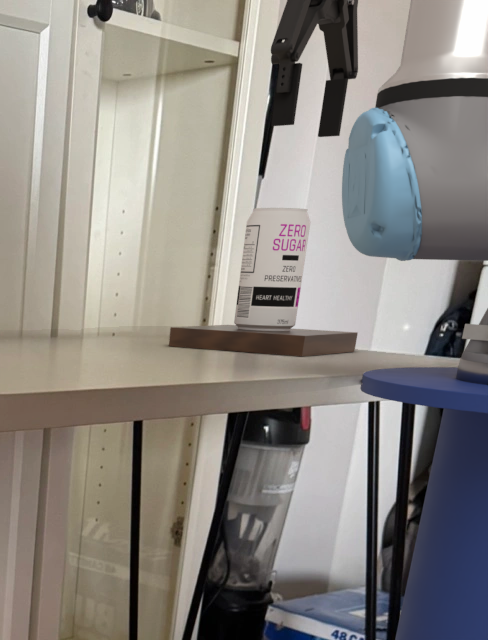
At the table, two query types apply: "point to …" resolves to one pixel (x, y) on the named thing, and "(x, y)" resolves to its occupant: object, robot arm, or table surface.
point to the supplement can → (272, 269)
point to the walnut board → (263, 340)
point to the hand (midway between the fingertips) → (306, 131)
